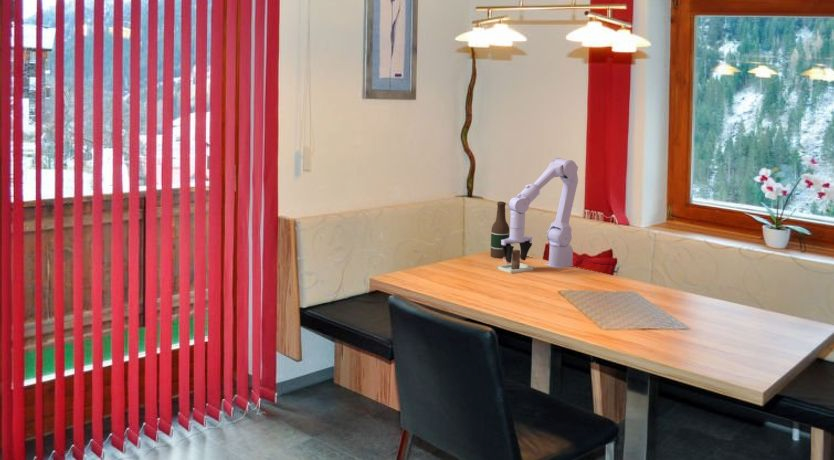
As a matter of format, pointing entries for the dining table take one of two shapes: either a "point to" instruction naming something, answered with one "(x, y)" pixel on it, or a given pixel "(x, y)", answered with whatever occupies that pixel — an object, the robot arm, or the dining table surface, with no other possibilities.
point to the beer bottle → (499, 232)
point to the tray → (521, 269)
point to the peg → (515, 259)
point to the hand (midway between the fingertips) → (515, 260)
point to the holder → (505, 261)
